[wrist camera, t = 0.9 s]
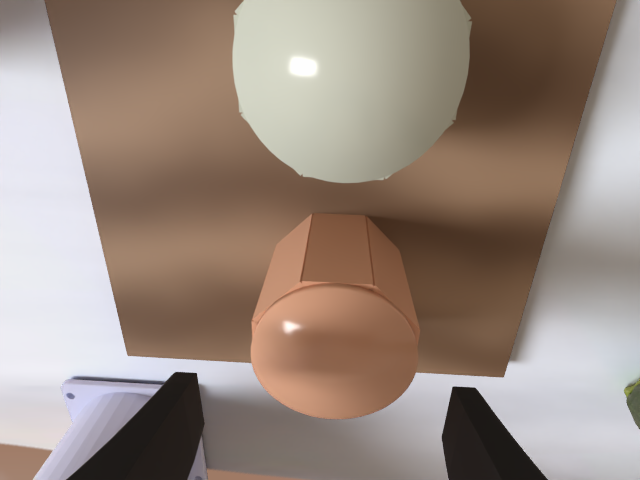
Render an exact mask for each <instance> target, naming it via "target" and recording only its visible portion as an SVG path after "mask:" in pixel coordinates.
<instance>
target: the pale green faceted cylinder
mask: <svg viewBox="0 0 640 480" xmlns="http://www.w3.org/2000/svg"><path fill="white" fill-rule="evenodd" d="M235 13H236V14H237V15H234V32H235V34H234V42H233V74H234V83H235V87H236V91H237V95H238V101H239V112H243V113H242V114H241V116H242V117H243V118H244V119H245V120H246V121H247V122H248V123H249V124H250V126H251V128H252V129H253V131H254V132H255V134H256V135H257V136H258V138H259V139H260V140H261V142H262V143H263V144H264V145H265V146H266V147H267V148H268V150H269V151H271V152H272V153H273V154H274V155H275V156H276V157H277V158H278V159H280V160H281V161H282V162H284V163H285V164H287V165H288V166H290V167H291V168H293V169H294V170H295V171H296V172H297V173H298V174H299V175H300V176H301V175H302V174H303V177H313V178H316V179H320V180H324V181H329V182H337V183H359V182H366V181H372V180H384V178H385V179H387V178H388V177H390V176H391V175H392V174H393V173H395V172H397V171H399V170H401V169H403V168H404V167H406V166H408V165H410V164H411V163H412V162H414V161H415V160H417V159H418V158H419V157H421V156H422V155H423V154H424V153H425V152H426V151H427V150H428V149H429V148H430V147H431V146H433V144H434V143H435V142H436V141H437V140H438V138H439V137H440V136H441V135H442V134H443V132H444V131H445V130H446V129H447V128H448V127H449V126H451V125H452V124H453V123H454V122H453V121H452V120H456V114H457V108H458V106H459V103H460V100H461V98H462V95H463V92H464V88H465V84H466V80H467V76H468V68H469V59H470V48H469V37H470V31H471V25H472V21H469V20H470V19H471V17H470V15H469V14H468V13H467V11H466V10H465V8H464V7H463V6H462V4H461V2H460V0H244V1H243V2H242V3H241V4H240V5H239V7H238V8H237V9H236V10H235Z"/></svg>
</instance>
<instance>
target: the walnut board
mask: <svg viewBox="0 0 640 480" xmlns="http://www.w3.org/2000/svg"><path fill="white" fill-rule="evenodd" d="M243 1H244V0H45V4H46V9H47V13H48V17H49V21H50V26H51V30H52V34H53V39H54V43H55V47H56V51H57V56H58V60H59V64H60V69H61V73H62V77H63V81H64V86H65V90H66V94H67V98H68V103H69V107H70V111H71V116H72V120H73V124H74V128H75V133H76V137H77V141H78V146H79V150H80V154H81V158H82V163H83V167H84V171H85V175H86V180H87V184H88V188H89V193H90V197H91V201H92V205H93V210H94V214H95V218H96V223H97V227H98V231H99V235H100V240H101V244H102V248H103V252H104V257H105V261H106V265H107V270H108V274H109V278H110V282H111V287H112V291H113V295H114V300H115V304H116V308H117V312H118V317H119V321H120V325H121V330H122V334H123V338H124V342H125V347H126V351H127V355H128V356H141V357H158V358H175V359H193V360H210V361H227V362H245V363H252V362H251V343H252V323H251V321H252V318H253V315H254V312H255V309H256V306H257V303H258V300H259V297H260V293H261V290H262V287H263V284H264V281H265V278H266V275H267V272H268V269H269V266H270V263H271V260H272V257H273V253H274V250H275V247H276V245H277V243H279V242H280V241H281V240H282V239H283V238H284V237H285V236H287V235H288V234H289V233H290V232H291V231H292V230H294V229H295V228H296V227H297V226H298V225H299V224H300V223H302V222H303V221H304V220H305V219H306V218H307V217H309V216H310V215H311V214H314V213H327V214H349V215H365V217H366V216H367V217H368V218H369V219H370V220H371V221H372V222H373V223H374V224H375V225H376V226H377V227H378V228H379V229H380V230H381V231H382V232H383V234H384V235H385V236H386V237H387V238H388V239H389V240H390V241H391V242H392V243H393V244H394V245H395V246H396V247H397V248H398V249H399V251H400V255H401V258H402V262H403V266H404V270H405V274H406V278H407V282H408V285H409V289H410V293H411V297H412V301H413V305H414V309H415V312H416V316H417V320H418V324H419V328H420V335H419V340H418V346H417V347H418V366H417V369H416V372H418V373H436V374H453V375H470V376H488V377H504V375H505V371H506V368H507V365H508V361H509V358H510V355H511V351H512V348H513V345H514V341H515V338H516V335H517V331H518V328H519V325H520V321H521V318H522V315H523V311H524V308H525V305H526V301H527V298H528V294H529V291H530V288H531V284H532V281H533V278H534V274H535V271H536V268H537V264H538V261H539V258H540V254H541V251H542V248H543V244H544V241H545V238H546V234H547V231H548V228H549V224H550V221H551V218H552V214H553V211H554V208H555V204H556V201H557V198H558V194H559V191H560V187H561V184H562V181H563V177H564V174H565V171H566V167H567V164H568V161H569V157H570V154H571V151H572V147H573V144H574V141H575V137H576V134H577V131H578V127H579V124H580V121H581V117H582V114H583V111H584V107H585V104H586V101H587V97H588V94H589V91H590V87H591V84H592V80H593V77H594V74H595V70H596V67H597V64H598V60H599V57H600V54H601V50H602V47H603V44H604V40H605V37H606V34H607V30H608V27H609V24H610V20H611V17H612V14H613V10H614V7H615V4H616V0H460V2H461V4H462V6H463V7H464V8H465V10H466V11H467V13H468V14H469V15H470V17H471V19H470V20H469V21H472V25H471V31H470V37H469V48H470V59H469V68H468V76H467V80H466V84H465V88H464V92H463V95H462V98H461V100H460V103H459V106H458V108H457V114H456V120H452V121H453V122H454V123H453V124H452V125H451V126H449V127H448V128H447V129H446V130H445V131H444V132H443V134H442V135H441V136H440V137H439V138H438V140H437V141H436V142H435V143H434V144H433V146H431V147H430V148H429V149H428V150H427V151H426V152H425V153H424V154H423V155H422V156H421V157H419V158H418V159H417V160H415V161H414V162H412V163H411V164H410V165H408V166H406V167H404V168H403V169H401V170H399V171H397V172H395V173H393V174H392V175H391V176H390V177H388V178H387V179H385V178H384V180H372V181H366V182H359V183H337V182H329V181H324V180H320V179H316V178H313V177H303V174H302V175H301V176H300V175H299V174H298V173H297V172H296V171H295V170H294V169H293V168H291V167H290V166H288V165H287V164H285V163H284V162H282V161H281V160H280V159H278V158H277V157H276V156H275V155H274V154H273V153H272V152H271V151H269V150H268V148H267V147H266V146H265V145H264V144H263V143H262V142H261V140H260V139H259V138H258V136H257V135H256V134H255V132H254V131H253V129H252V128H251V126H250V124H249V123H248V122H247V121H246V120H245V119H244V118H243V117H242V116H241V114H242V113H243V112H239V101H238V95H237V91H236V87H235V83H234V74H233V42H234V34H235V32H234V15H237V14H236V13H235V10H236V9H237V8H238V7H239V5H240V4H241V3H242V2H243Z"/></svg>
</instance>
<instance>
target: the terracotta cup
mask: <svg viewBox="0 0 640 480" xmlns="http://www.w3.org/2000/svg"><path fill="white" fill-rule="evenodd" d="M251 323H252V343H251V362H252V366H253V369H254V372H255V374H256V376H257V378H258V380H259V382H260V383H261V384H262V386H263V387H264V388H265V389H266V391H267V392H268V393H269V394H270V395H271V396H273V397H274V398H275V399H276V400H277V401H279V402H280V403H282V404H283V405H285V406H287V407H289V408H291V409H293V410H295V411H297V412H300V413H303V414H306V415H309V416H313V417H318V418H325V419H349V418H356V417H361V416H365V415H368V414H371V413H374V412H376V411H379V410H381V409H383V408H385V407H387V406H388V405H390V404H391V403H393V402H394V401H395V400H396V399H398V398H399V397H400V396H401V395H402V394H403V393H404V392H405V390H406V389H407V388H408V387H409V385H410V383H411V382H412V380H413V378H414V376H415V373H416V369H417V366H418V347H417V346H418V340H419V335H420V328H419V324H418V320H417V316H416V312H415V309H414V305H413V301H412V297H411V293H410V289H409V285H408V282H407V278H406V274H405V270H404V266H403V262H402V258H401V255H400V251H399V249H398V248H397V247H396V246H395V245H394V244H393V243H392V242H391V241H390V240H389V239H388V238H387V237H386V236H385V235H384V234H383V232H382V231H381V230H380V229H379V228H378V227H377V226H376V225H375V224H374V223H373V222H372V221H371V220H370V219H369V218H368V217H367V216H366V217H365V215H349V214H327V213H314V214H311V215H310V216H309V217H307V218H306V219H305V220H304V221H303V222H302V223H300V224H299V225H298V226H297V227H296V228H295V229H294V230H292V231H291V232H290V233H289V234H288V235H287V236H285V237H284V238H283V239H282V240H281V241H280V242H279V243H277V245H276V247H275V250H274V253H273V257H272V260H271V263H270V266H269V269H268V272H267V275H266V278H265V281H264V284H263V287H262V290H261V293H260V297H259V300H258V303H257V306H256V309H255V312H254V315H253V318H252V321H251Z"/></svg>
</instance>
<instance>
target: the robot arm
mask: <svg viewBox="0 0 640 480" xmlns="http://www.w3.org/2000/svg"><path fill="white" fill-rule="evenodd" d="M61 391H62V394H63V396H64V399H65V402H66V405H67V408H68V411H69V414H70V417H71V420H72V424H71V426H70V427H69V429H68V430H67V432H66V433H65V434H64V436H63V437H62V439H61V440H60V442H59V443H58V444H57V446H56V447H55V449H54V450H53V451H52V453H51V455H50V456H49V457H48V459H47V460H46V462H45V463H44V464H43V466H42V467H41V469H40V470H39V471H38V473H37V474H36V476H35V477H34V479H33V480H208V476H207V469H206V462H205V456H204V449H203V442H202V431H203V427H204V418H203V412H202V405H201V398H200V392H199V385H198V378H197V373H185V372H175V373H174V374H173V375H172V376H171V377H170V378H169V379H168V380H167V381H166V382H165V383H164V384H163V385H158V384H141V383H124V382H108V381H91V380H74V379H68V380H65V381H64V382H63V384H62V385H61ZM442 442H443V449H444V455H445V461H446V467H447V473H448V478H449V480H548V479H547V478H546V477H545V476H544V475H543V473H542V472H541V471H540V470H539V469H538V468H537V466H536V465H535V464H534V463H533V462H532V460H531V459H530V458H529V457H528V455H527V454H526V453H525V452H524V451H523V449H522V448H521V447H520V446H519V444H518V443H517V442H516V441H515V439H514V438H513V437H512V436H511V434H510V433H509V432H508V430H507V429H506V428H505V426H504V425H503V424H502V422H501V421H500V420H499V419H498V417H497V416H496V415H495V413H494V412H493V411H492V409H491V408H490V406H489V405H488V404H487V402H486V401H485V400H484V398H483V397H482V396H481V394H480V393H479V391H478V390H477V389H476V388H471V387H453V388H452V393H451V397H450V402H449V406H448V411H447V416H446V420H445V425H444V429H443V434H442Z"/></svg>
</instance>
